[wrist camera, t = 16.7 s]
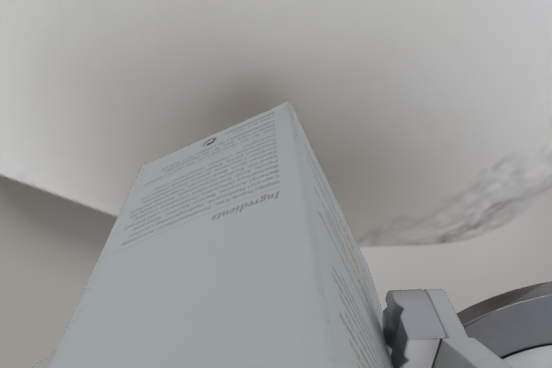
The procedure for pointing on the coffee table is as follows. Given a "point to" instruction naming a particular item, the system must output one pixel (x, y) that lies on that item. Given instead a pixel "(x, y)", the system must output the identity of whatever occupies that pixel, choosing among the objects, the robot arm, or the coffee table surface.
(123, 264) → the small box
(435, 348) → the robot arm
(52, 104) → the coffee table surface
